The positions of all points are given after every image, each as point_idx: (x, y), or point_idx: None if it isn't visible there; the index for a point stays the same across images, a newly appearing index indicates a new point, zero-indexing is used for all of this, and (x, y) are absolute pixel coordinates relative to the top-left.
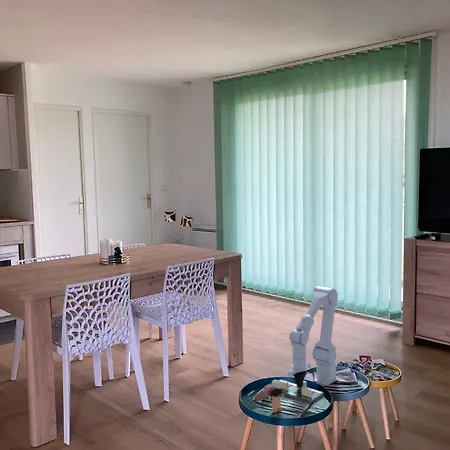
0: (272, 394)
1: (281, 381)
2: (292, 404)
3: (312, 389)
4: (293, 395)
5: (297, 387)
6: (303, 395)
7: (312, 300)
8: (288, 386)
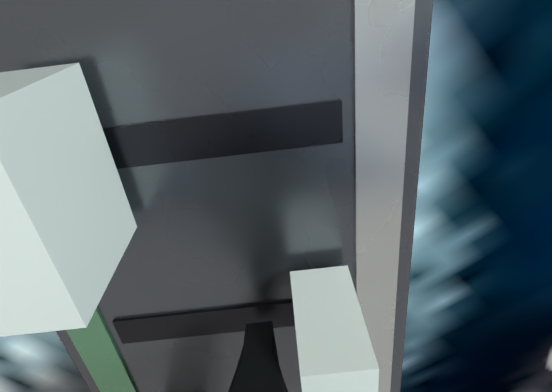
0: None
1: None
2: (5, 383)
3: (387, 386)
4: (79, 360)
5: (291, 279)
6: None
7: None
8: (235, 136)
